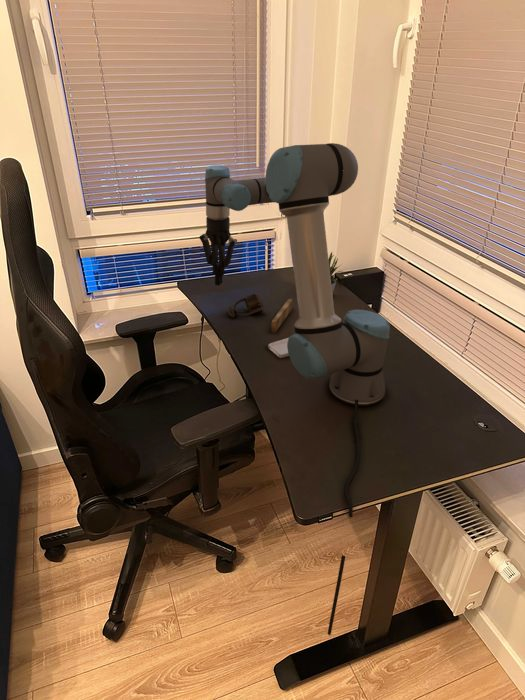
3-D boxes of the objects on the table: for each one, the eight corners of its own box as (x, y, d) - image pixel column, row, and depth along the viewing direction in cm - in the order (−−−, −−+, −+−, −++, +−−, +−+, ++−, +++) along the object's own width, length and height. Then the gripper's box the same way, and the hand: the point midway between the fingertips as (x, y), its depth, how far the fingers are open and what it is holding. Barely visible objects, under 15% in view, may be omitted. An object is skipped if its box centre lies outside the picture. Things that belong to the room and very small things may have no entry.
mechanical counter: (265, 307, 168) (266, 289, 175) (227, 303, 167) (230, 284, 174) (262, 323, 173) (264, 305, 180) (226, 319, 172) (228, 300, 179)
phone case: (305, 335, 164) (267, 347, 156) (306, 332, 163) (267, 343, 156) (319, 346, 158) (280, 358, 151) (320, 342, 158) (280, 355, 151)
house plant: (306, 285, 197) (310, 245, 189) (342, 288, 196) (347, 248, 187) (303, 300, 185) (307, 259, 177) (341, 304, 184) (346, 262, 175)
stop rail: (275, 332, 165) (275, 322, 162) (271, 332, 165) (271, 321, 163) (291, 309, 179) (292, 299, 177) (288, 308, 179) (288, 298, 177)
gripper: (241, 216, 162) (240, 282, 175) (204, 210, 166) (206, 276, 179) (231, 223, 156) (231, 291, 169) (194, 217, 160) (196, 284, 173)
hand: (218, 283), depth 174 cm, fingers closed
